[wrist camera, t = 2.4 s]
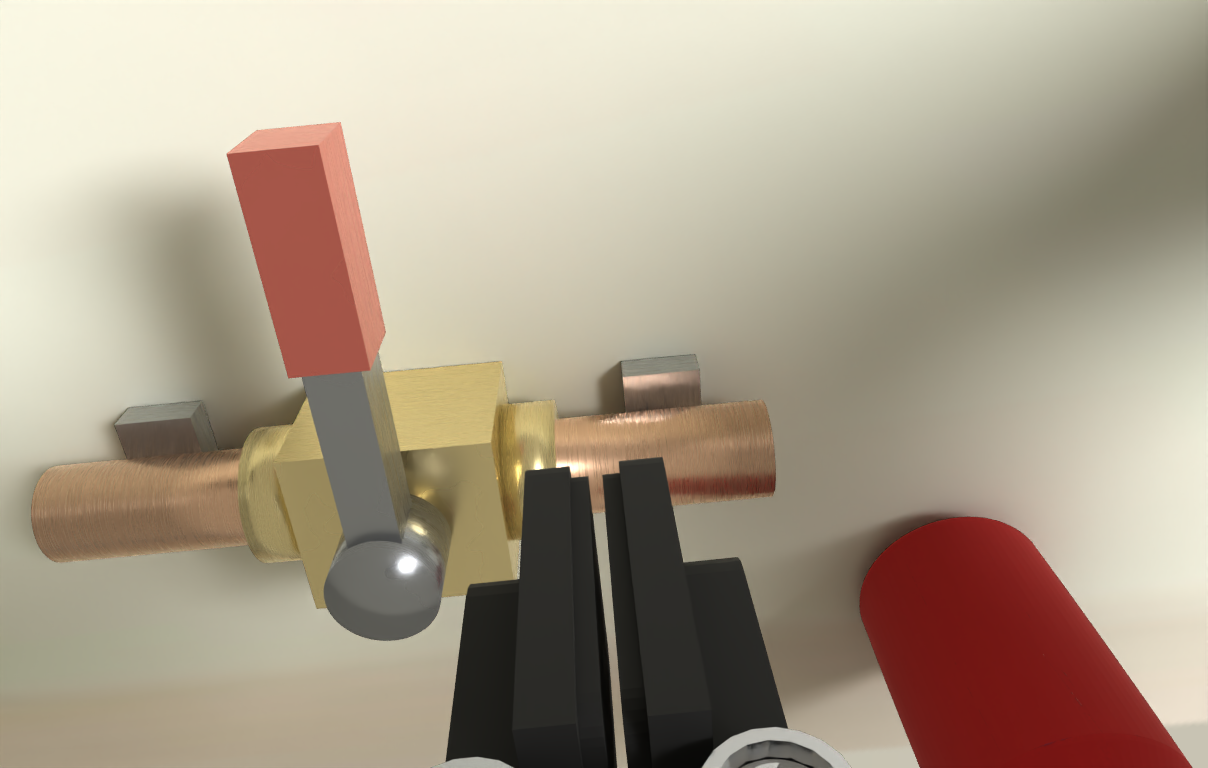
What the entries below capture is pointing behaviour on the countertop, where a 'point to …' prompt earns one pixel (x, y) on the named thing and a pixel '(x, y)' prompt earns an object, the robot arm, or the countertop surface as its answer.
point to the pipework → (431, 461)
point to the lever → (341, 374)
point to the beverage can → (1000, 658)
